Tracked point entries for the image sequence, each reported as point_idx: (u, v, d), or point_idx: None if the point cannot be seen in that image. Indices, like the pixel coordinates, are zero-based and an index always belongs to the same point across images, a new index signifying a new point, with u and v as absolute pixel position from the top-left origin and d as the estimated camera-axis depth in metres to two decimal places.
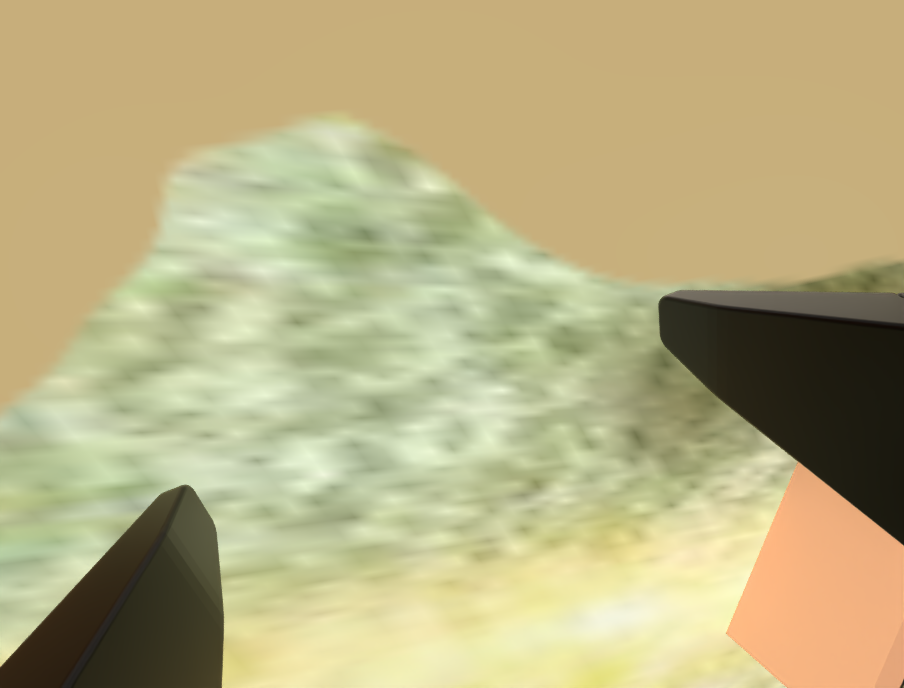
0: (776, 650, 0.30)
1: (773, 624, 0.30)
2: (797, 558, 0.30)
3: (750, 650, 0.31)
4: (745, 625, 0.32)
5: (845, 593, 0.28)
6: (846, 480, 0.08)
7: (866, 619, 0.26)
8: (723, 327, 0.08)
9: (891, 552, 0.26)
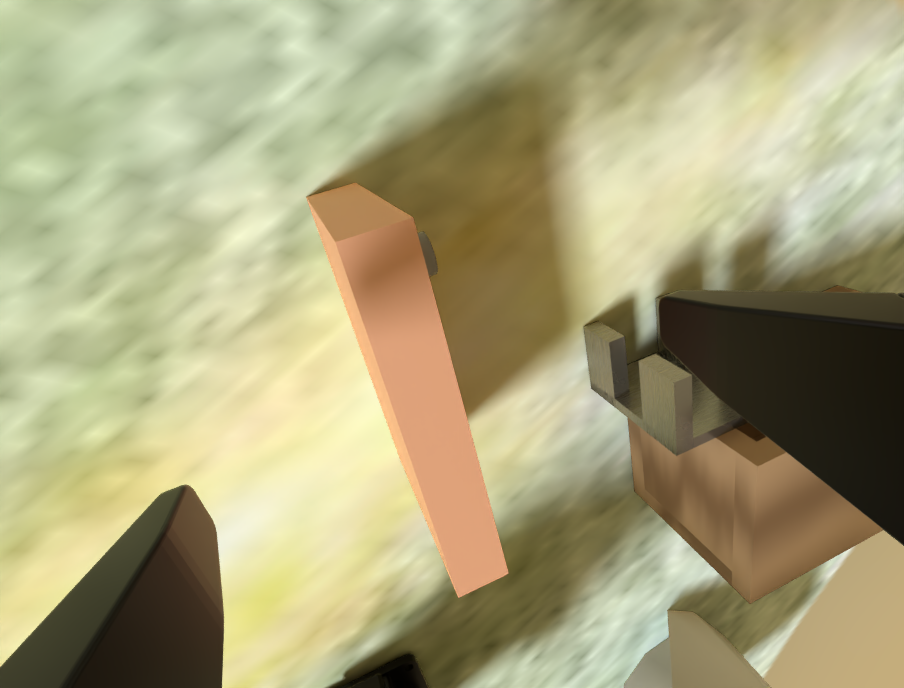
0: (410, 479, 0.20)
1: (397, 446, 0.20)
2: (364, 355, 0.18)
3: None
4: (397, 448, 0.22)
5: (384, 399, 0.16)
6: (846, 480, 0.08)
7: (399, 437, 0.15)
8: (723, 327, 0.08)
9: (360, 326, 0.14)
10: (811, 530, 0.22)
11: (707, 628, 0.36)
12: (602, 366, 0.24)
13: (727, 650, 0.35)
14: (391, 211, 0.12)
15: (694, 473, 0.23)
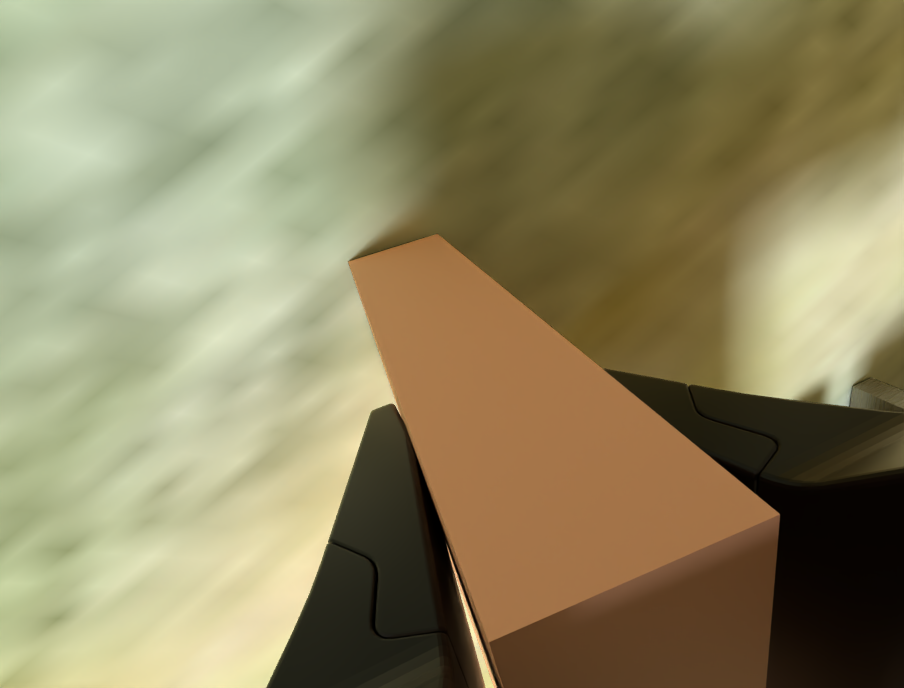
0: None
1: None
2: None
3: None
4: (481, 648, 0.14)
5: None
6: None
7: None
8: None
9: (490, 664, 0.05)
10: None
11: None
12: None
13: None
14: (622, 412, 0.04)
15: None
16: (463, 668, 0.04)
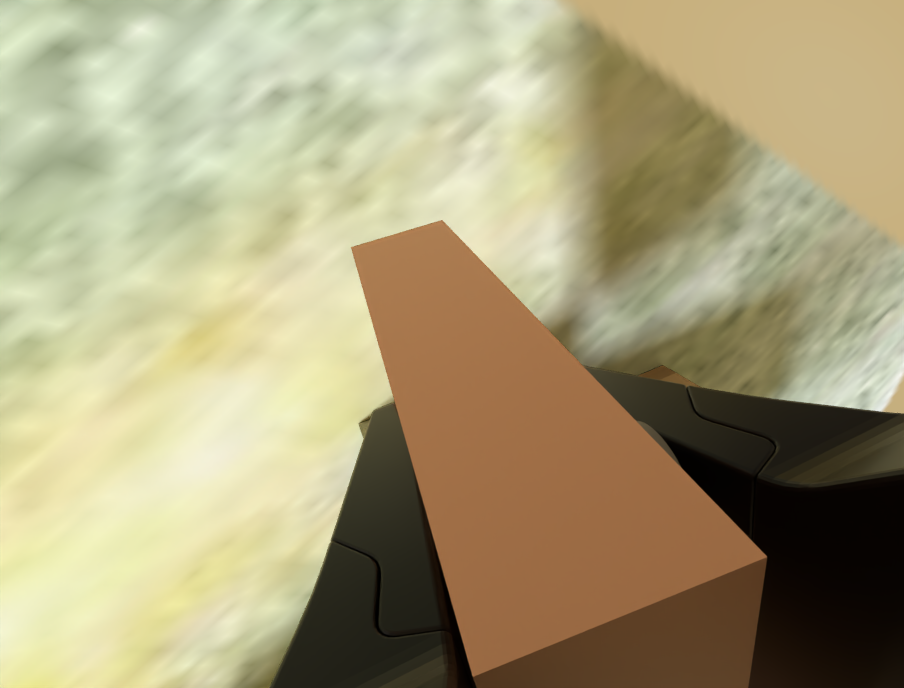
0: None
1: None
2: None
3: None
4: None
5: None
6: None
7: None
8: None
9: None
10: None
11: None
12: None
13: None
14: (617, 434, 0.04)
15: None
16: (466, 666, 0.04)
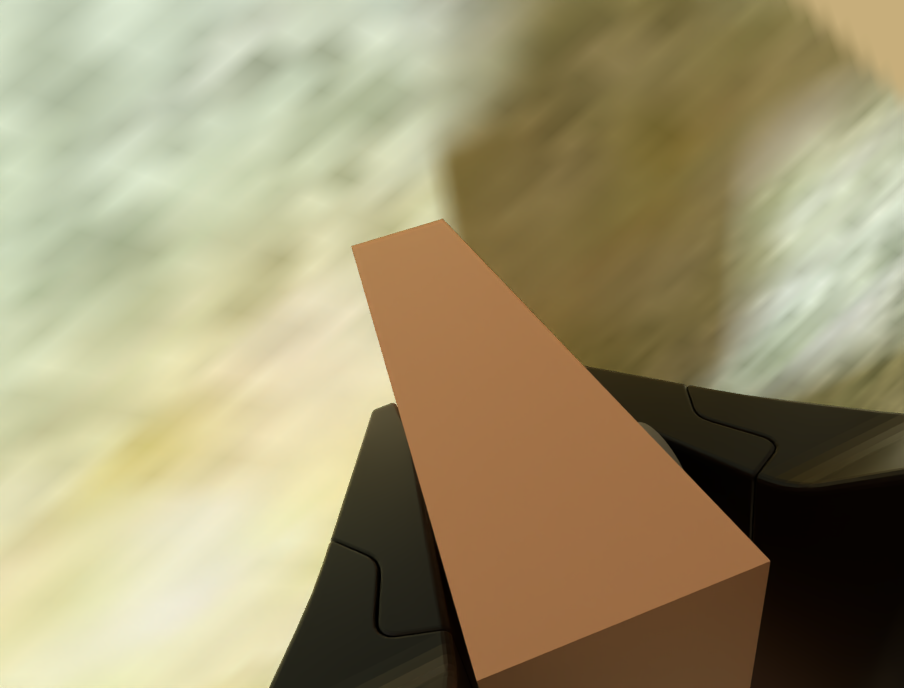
0: None
1: None
2: None
3: None
4: None
5: None
6: None
7: None
8: None
9: None
10: None
11: None
12: None
13: None
14: (619, 436, 0.04)
15: None
16: (466, 666, 0.04)
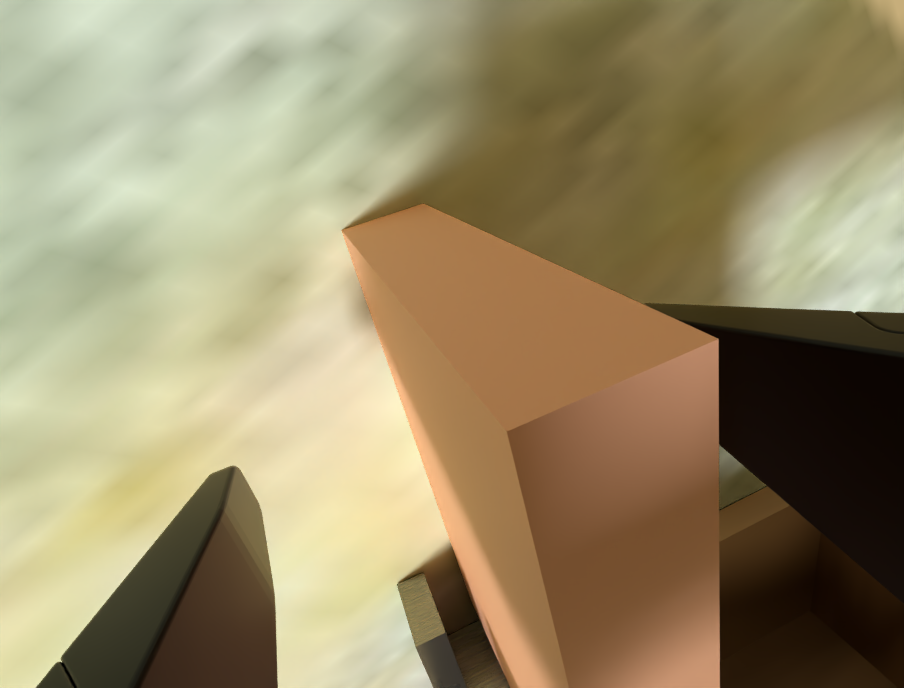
0: (507, 674, 0.13)
1: (486, 620, 0.13)
2: (442, 494, 0.11)
3: (494, 651, 0.14)
4: (474, 602, 0.14)
5: (504, 618, 0.08)
6: (806, 501, 0.07)
7: None
8: None
9: (495, 540, 0.06)
10: None
11: None
12: None
13: None
14: (597, 298, 0.05)
15: None
16: None
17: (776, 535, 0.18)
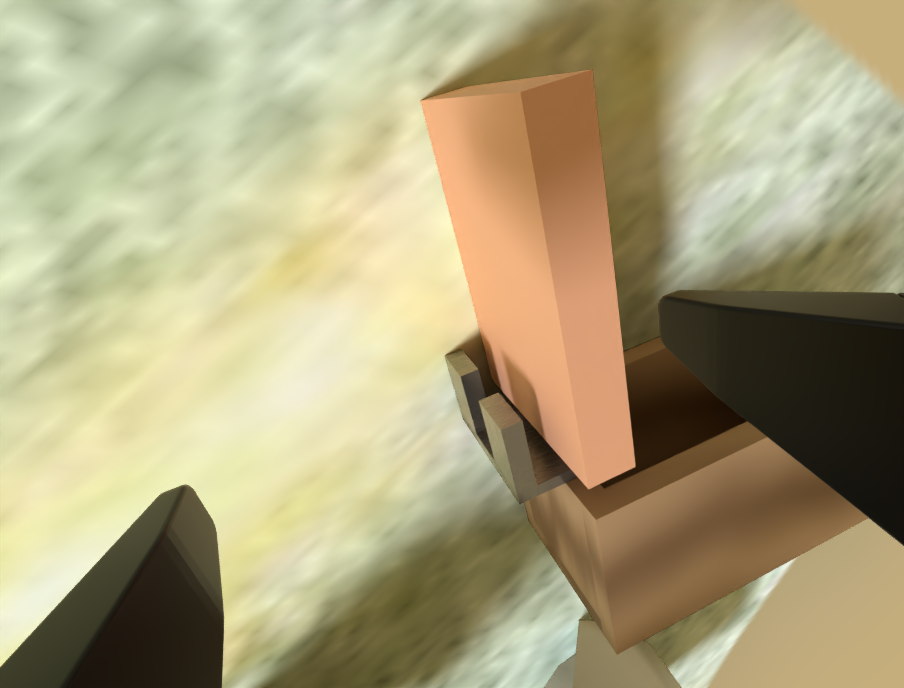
0: (517, 389, 0.20)
1: (504, 358, 0.20)
2: (479, 261, 0.19)
3: (508, 395, 0.22)
4: (495, 366, 0.22)
5: (516, 291, 0.16)
6: (846, 480, 0.08)
7: (539, 323, 0.15)
8: (723, 327, 0.08)
9: (513, 201, 0.14)
10: (679, 578, 0.20)
11: None
12: (463, 399, 0.22)
13: (640, 663, 0.32)
14: (555, 75, 0.12)
15: (559, 514, 0.21)
16: None
17: None
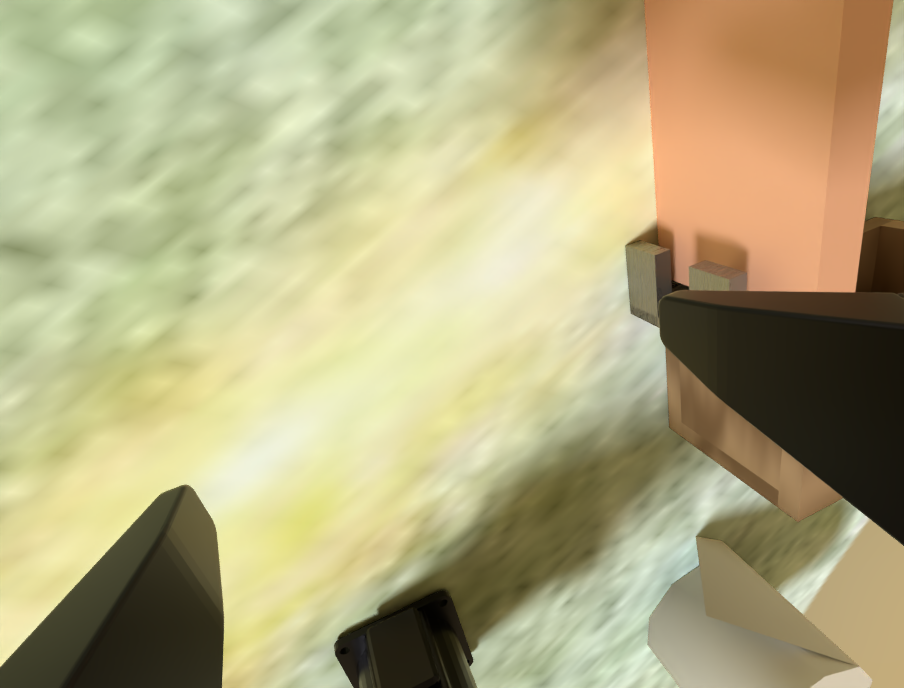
0: None
1: (696, 237, 0.22)
2: (690, 136, 0.20)
3: (687, 281, 0.23)
4: (673, 255, 0.24)
5: (754, 145, 0.18)
6: (846, 480, 0.08)
7: (787, 166, 0.17)
8: (723, 327, 0.08)
9: (790, 40, 0.15)
10: None
11: (737, 556, 0.34)
12: (645, 284, 0.23)
13: (759, 576, 0.33)
14: None
15: None
16: None
17: None
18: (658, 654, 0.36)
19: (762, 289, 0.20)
